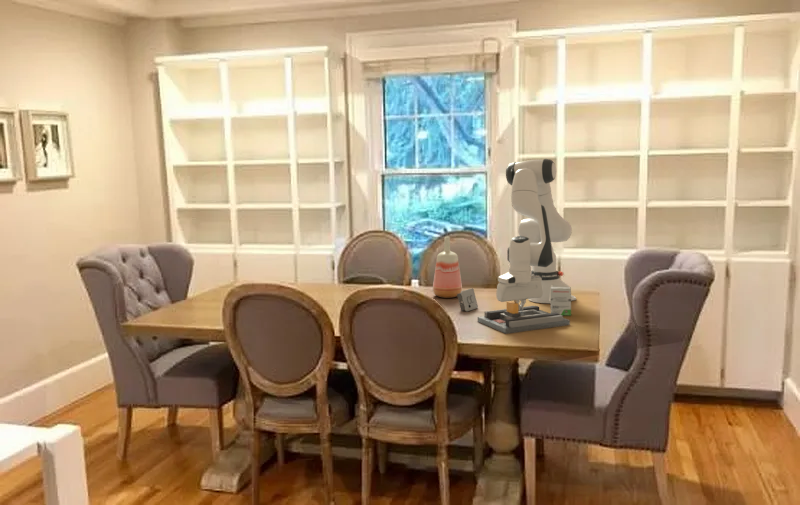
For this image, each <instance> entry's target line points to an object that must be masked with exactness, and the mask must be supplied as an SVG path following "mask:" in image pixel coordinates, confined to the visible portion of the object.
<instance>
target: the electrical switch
mask: <svg viewBox="0 0 800 505" xmlns="http://www.w3.org/2000/svg"><path fill="white" fill-rule="evenodd" d="M457 301H458V304H459V308H460V311H461V312H462V311H465V312H469V311H473V310H475V309H478V308H479V305H478V302H477V297H476V294H475V290H474V288H471V287H470V288H468V289H465V290H464V289H463V290H462V291H461V293H459V294H457Z"/></svg>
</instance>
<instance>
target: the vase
mask: <svg viewBox="0 0 800 505" xmlns="http://www.w3.org/2000/svg"><path fill="white" fill-rule="evenodd" d="M443 240H444V243H443V244H444V245H443V247H444V248H443V251H441V252H439V253H438V254H437V255H436V261H435V268H434V276H433V283H432V292H433V294H434V295H435V296H436V297H439V298H443V299H449V298H450V299H451V298H456V297H457V298H458V296H457V294H459V293H461V291H463V286H462V285H463V284H462V277H461V270H460V263H459V256H458V254H457V253H456V252H454V251H451V237H450V236H444V239H443Z"/></svg>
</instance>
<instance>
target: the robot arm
mask: <svg viewBox="0 0 800 505" xmlns="http://www.w3.org/2000/svg"><path fill="white" fill-rule="evenodd" d="M556 175H557V167H556V164H555V161H553V160H552V159H547V158H544V159H529V160H522V161H521V160H520V161H517V162H516V161H514V162H511V163H509V164H508V165H507V166H506V168H505V178H506V181H507V183H508V184H509V185H510V186H511V193H510V194H511V195H510V197H511V198H510V199H511V206H512V209H513V210H514V211H515V212H516V213H517V214H519V215H521V216H524V217H526V218H524V219H522V220H521V221H520V222H519V224H518V227H517V232H518V235H517V236H513V237H512V238H510V242H509V247H508V248H507V250H506V251H507V254H506V255H507V261H508V263H509V267H508V271H507V272H506V273H504V274H501V275H499V276H498V277H497V282H498V284H497V286H496V299H497V301H498V302H501V303H507V302H508V301H513V302H516V303H518V311H520V310H523V307H525V304H526V303H527V300H528V301H530V302H533V303H541V304H551V287H570V285H568V283H566V282H565V281H563V280H562V279H561V278H560V277H563V276H564V272H563V271H561V270H559V271H558V270H557V254H556V253H555V252H554V251H555V250H554V248H553V247H554V246H553V245H552V243H562V242H567V241H569V239H570V238H571V235H572V233H573V230H572V225H571V223H570V222H569V220H567V219H565V218H564V217H562V215H561V214H560V213H559V212H558V210H557V209H556V207H555V204H554V200H553V194H552V187H551V184H550V183H552V182H554V180H555V179H556ZM576 300H577V297H576V296H574V295H572V294H571V302H572V301H576Z"/></svg>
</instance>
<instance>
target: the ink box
mask: <svg viewBox="0 0 800 505" xmlns="http://www.w3.org/2000/svg"><path fill="white" fill-rule="evenodd" d="M571 295H572V288H571V286H569V287H551V303H550V313H559V314H560V315H562V316H572V301H571Z"/></svg>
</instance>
